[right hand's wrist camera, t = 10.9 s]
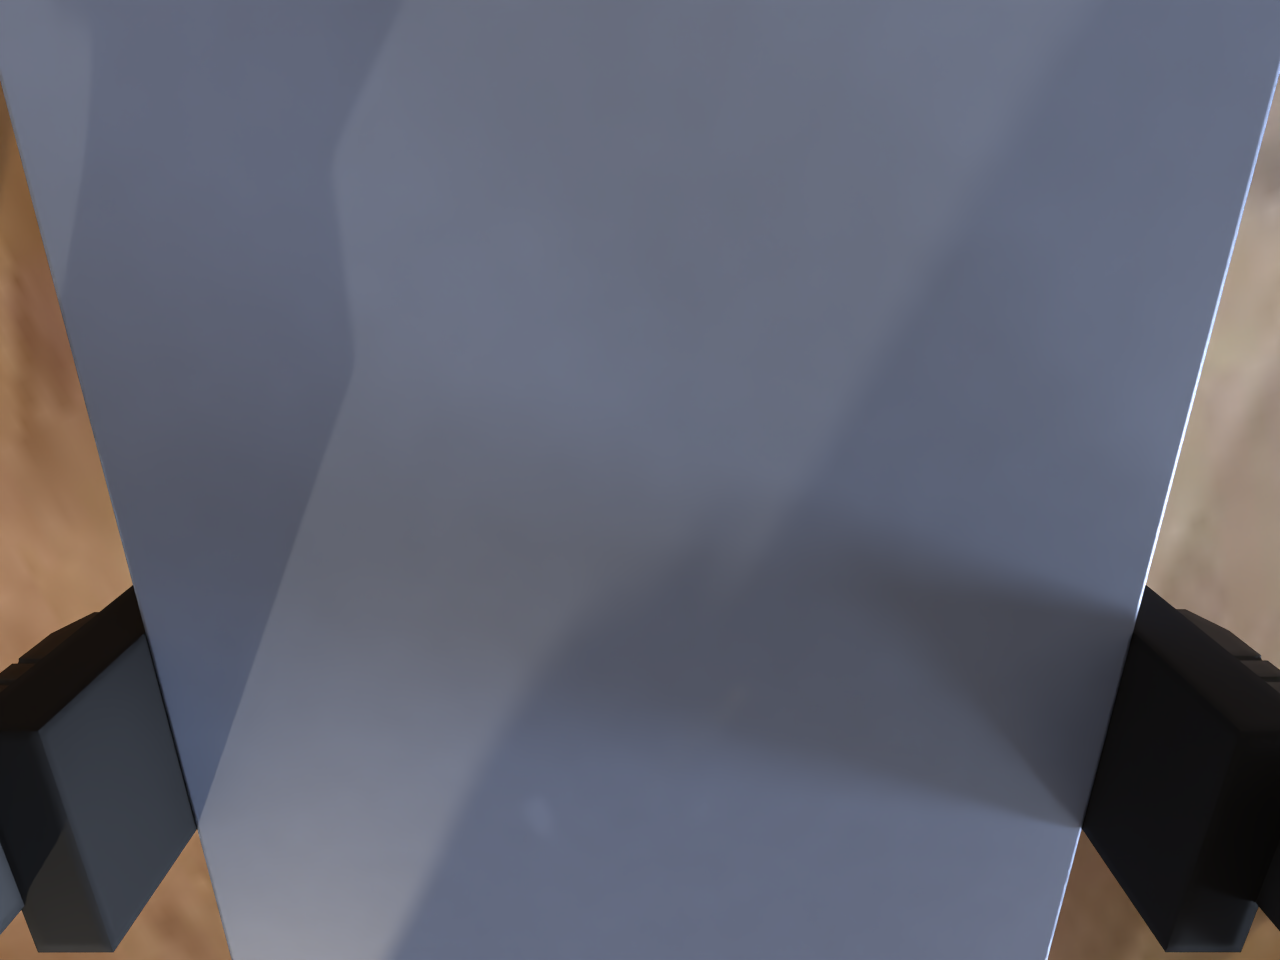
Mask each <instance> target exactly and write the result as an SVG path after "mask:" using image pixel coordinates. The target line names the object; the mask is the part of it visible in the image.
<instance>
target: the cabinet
mask: <svg viewBox="0 0 1280 960" xmlns="http://www.w3.org/2000/svg"><path fill="white" fill-rule="evenodd" d="M1279 73H1280V0H0V81H1V85H2V89H3V92H4V96H5V100H6V104H7V108H8V111H9V115H10V119H11V123H12V127H13V130H14V134H15V138H16V142H17V146H18V149H19V153H20V157H21V161H22V165H23V168H24V172H25V176H26V180H27V184H28V187H29V191H30V195H31V199H32V203H33V206H34V210H35V214H36V218H37V222H38V225H39V229H40V233H41V237H42V241H43V244H44V248H45V252H46V256H47V260H48V263H49V267H50V271H51V275H52V279H53V282H54V286H55V290H56V294H57V298H58V301H59V305H60V309H61V313H62V317H63V320H64V324H65V328H66V332H67V336H68V339H69V343H70V347H71V351H72V355H73V358H74V362H75V366H76V370H77V374H78V377H79V381H80V385H81V389H82V392H83V396H84V400H85V404H86V408H87V411H88V415H89V419H90V423H91V427H92V430H93V434H94V438H95V442H96V446H97V449H98V453H99V457H100V461H101V465H102V468H103V472H104V476H105V480H106V484H107V487H108V491H109V495H110V499H111V503H112V506H113V510H114V514H115V518H116V522H117V525H118V529H119V533H120V537H121V541H122V544H123V548H124V552H125V556H126V560H127V563H128V567H129V571H130V575H131V579H132V582H133V586H134V590H135V594H136V598H137V601H138V605H139V609H140V613H141V617H142V620H143V624H144V628H145V632H146V636H147V639H148V643H149V647H150V651H151V655H152V658H153V662H154V666H155V670H156V674H157V677H158V681H159V685H160V689H161V693H162V696H163V700H164V704H165V708H166V712H167V715H168V719H169V723H170V727H171V731H172V734H173V738H174V742H175V746H176V750H177V753H178V757H179V761H180V765H181V769H182V772H183V776H184V780H185V784H186V788H187V791H188V795H189V799H190V803H191V807H192V810H193V814H194V818H195V822H196V826H197V829H198V833H199V837H200V841H201V845H202V848H203V852H204V856H205V860H206V864H207V867H208V871H209V875H210V879H211V883H212V886H213V890H214V894H215V898H216V902H217V905H218V909H219V913H220V917H221V921H222V924H223V928H224V932H225V936H226V940H227V943H228V947H229V951H230V955H231V959H232V960H1047V959H1048V955H1049V951H1050V947H1051V943H1052V940H1053V936H1054V932H1055V928H1056V924H1057V921H1058V917H1059V913H1060V909H1061V905H1062V901H1063V898H1064V894H1065V890H1066V886H1067V882H1068V879H1069V875H1070V871H1071V867H1072V863H1073V859H1074V856H1075V852H1076V848H1077V844H1078V840H1079V837H1080V833H1081V829H1082V825H1083V821H1084V817H1085V814H1086V810H1087V806H1088V802H1089V798H1090V795H1091V791H1092V787H1093V783H1094V779H1095V776H1096V772H1097V768H1098V764H1099V760H1100V756H1101V753H1102V749H1103V745H1104V741H1105V737H1106V734H1107V730H1108V726H1109V722H1110V718H1111V714H1112V711H1113V707H1114V703H1115V699H1116V695H1117V692H1118V688H1119V684H1120V680H1121V676H1122V672H1123V669H1124V665H1125V661H1126V657H1127V653H1128V650H1129V646H1130V642H1131V638H1132V634H1133V630H1134V627H1135V623H1136V619H1137V615H1138V611H1139V608H1140V604H1141V600H1142V596H1143V592H1144V588H1145V585H1146V581H1147V577H1148V573H1149V569H1150V566H1151V562H1152V558H1153V554H1154V550H1155V546H1156V543H1157V539H1158V535H1159V531H1160V527H1161V524H1162V520H1163V516H1164V512H1165V508H1166V504H1167V501H1168V497H1169V493H1170V489H1171V485H1172V482H1173V478H1174V474H1175V470H1176V466H1177V462H1178V459H1179V455H1180V451H1181V447H1182V443H1183V440H1184V436H1185V432H1186V428H1187V424H1188V420H1189V417H1190V413H1191V409H1192V405H1193V401H1194V398H1195V394H1196V390H1197V386H1198V382H1199V378H1200V375H1201V371H1202V367H1203V363H1204V359H1205V356H1206V352H1207V348H1208V344H1209V340H1210V336H1211V333H1212V329H1213V325H1214V321H1215V317H1216V314H1217V310H1218V306H1219V302H1220V298H1221V294H1222V291H1223V287H1224V283H1225V279H1226V275H1227V272H1228V268H1229V264H1230V260H1231V256H1232V252H1233V249H1234V245H1235V241H1236V237H1237V233H1238V230H1239V226H1240V222H1241V218H1242V214H1243V210H1244V207H1245V203H1246V199H1247V195H1248V191H1249V188H1250V184H1251V180H1252V176H1253V172H1254V169H1255V165H1256V161H1257V157H1258V153H1259V149H1260V146H1261V142H1262V138H1263V134H1264V130H1265V127H1266V123H1267V119H1268V115H1269V111H1270V107H1271V104H1272V100H1273V96H1274V92H1275V88H1276V85H1277V81H1278V77H1279Z"/></svg>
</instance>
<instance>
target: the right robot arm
mask: <svg viewBox="0 0 1280 960" xmlns="http://www.w3.org/2000/svg"><path fill="white" fill-rule="evenodd" d="M1082 829H1083V831H1084V832H1085V834H1086V835H1087V837H1088V838H1089V840H1090V841H1091V843H1092V844H1093V846H1094V847H1095V849H1096V850H1097V852H1098V853H1099V855H1100V856H1101V858H1102V859H1103V860H1104V862H1105V863H1106V865H1107V866H1108V868H1109V869H1110V871H1111V872H1112V874H1113V875H1114V877H1115V878H1116V880H1117V881H1118V883H1119V884H1120V886H1121V887H1122V889H1123V890H1124V891H1125V893H1126V894H1127V896H1128V897H1129V899H1130V900H1131V902H1132V903H1133V905H1134V906H1135V908H1136V909H1137V911H1138V912H1139V914H1140V915H1141V917H1142V918H1143V920H1144V921H1145V922H1146V924H1147V925H1148V927H1149V928H1150V930H1151V931H1152V933H1153V934H1154V936H1155V937H1156V939H1157V940H1158V942H1159V943H1160V945H1161V946H1162V948H1163V949H1164V951H1165V952H1241V950H1242V948H1243V945H1244V943H1245V940H1246V937H1247V935H1248V932H1249V930H1250V927H1251V925H1252V922H1253V919H1254V917H1255V914H1256V912H1257V909H1258V907H1260V908H1261V910H1262V911H1263V912H1264V913H1265V914H1266V915H1267V917H1268V918H1269V919H1270V920H1271V921H1272V923H1273V924H1274V925H1275V926H1276V927H1277V928H1278V930H1279V931H1280V670H1279V669H1278V668H1277V667H1275V666H1274V665H1273V664H1271V663H1270V662H1269V661H1262V660H1261V655H1260V654H1258V653H1257V652H1256V651H1255V650H1253V649H1252V648H1251V647H1249V646H1248V645H1247V644H1245V643H1244V642H1243V641H1242V640H1240V639H1239V638H1238V637H1236V636H1235V635H1234V634H1232V633H1231V632H1230V631H1228V630H1226V629H1224V628H1222V627H1220V626H1218V625H1216V624H1214V623H1212V622H1210V621H1208V620H1206V619H1204V618H1202V617H1200V616H1198V615H1196V614H1194V613H1192V612H1190V611H1188V610H1186V609H1175V608H1174V607H1172V606H1171V605H1170V604H1169V603H1168V602H1166V601H1165V600H1164V599H1163V598H1161V597H1160V596H1159V595H1158V594H1156V593H1155V592H1154V591H1153V590H1151V589H1150V588H1149V587H1148V586H1146V585H1145V588H1144V592H1143V596H1142V600H1141V604H1140V608H1139V611H1138V615H1137V619H1136V623H1135V627H1134V630H1133V634H1132V638H1131V642H1130V646H1129V650H1128V653H1127V657H1126V661H1125V665H1124V669H1123V672H1122V676H1121V680H1120V684H1119V688H1118V692H1117V695H1116V699H1115V703H1114V707H1113V711H1112V714H1111V718H1110V722H1109V726H1108V730H1107V734H1106V737H1105V741H1104V745H1103V749H1102V753H1101V756H1100V760H1099V764H1098V768H1097V772H1096V776H1095V779H1094V783H1093V787H1092V791H1091V795H1090V798H1089V802H1088V806H1087V810H1086V814H1085V817H1084V821H1083V825H1082ZM196 830H197V826H196V822H195V818H194V814H193V810H192V807H191V803H190V799H189V795H188V791H187V788H186V784H185V780H184V776H183V772H182V769H181V765H180V761H179V757H178V753H177V750H176V746H175V742H174V738H173V734H172V731H171V727H170V723H169V719H168V715H167V712H166V708H165V704H164V700H163V696H162V693H161V689H160V685H159V681H158V677H157V674H156V670H155V666H154V662H153V658H152V655H151V651H150V647H149V643H148V639H147V636H146V632H145V628H144V624H143V620H142V617H141V613H140V609H139V605H138V601H137V598H136V594H135V590H134V586H131V587H130V588H129V589H128V590H126V591H125V592H124V593H123V594H121V595H120V596H119V597H118V598H116V599H115V600H114V601H113V602H112V603H110V604H109V605H108V606H107V607H105V608H104V609H103V610H102V611H100V612H94V613H92V614H90V615H88V616H86V617H84V618H82V619H80V620H78V621H76V622H74V623H72V624H69V625H67V626H65V627H63V628H61V629H59V630H57V631H55V632H53V633H51V634H50V635H49V636H47V637H46V638H45V639H43V640H42V641H41V642H40V643H38V644H37V645H36V646H34V647H33V648H32V649H31V650H29V651H28V652H27V653H25V654H24V655H23V656H22V657H20V658H19V662H18V664H11V665H10V666H9V667H7V668H6V669H5V670H4V671H2V672H1V673H0V934H1V933H2V932H3V931H4V930H5V928H6V927H7V926H8V925H9V924H10V922H11V921H12V920H13V919H14V918H15V917H16V915H17V914H18V913H19V912H20V911H21V910H22V912H23V915H24V917H25V920H26V922H27V925H28V928H29V930H30V933H31V935H32V938H33V940H34V943H35V946H36V948H37V951H38V952H114V951H115V949H116V948H117V946H118V945H119V943H120V942H121V940H122V939H123V937H124V936H125V934H126V933H127V932H128V930H129V929H130V927H131V926H132V924H133V923H134V921H135V920H136V918H137V917H138V915H139V914H140V912H141V911H142V909H143V908H144V906H145V905H146V903H147V902H148V901H149V899H150V898H151V896H152V895H153V893H154V892H155V890H156V889H157V887H158V886H159V884H160V883H161V881H162V880H163V878H164V877H165V875H166V874H167V872H168V871H169V870H170V868H171V867H172V865H173V864H174V862H175V861H176V859H177V858H178V856H179V855H180V853H181V852H182V850H183V849H184V847H185V846H186V844H187V843H188V841H189V840H190V839H191V837H192V836H193V834H194V833H195V831H196Z"/></svg>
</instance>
